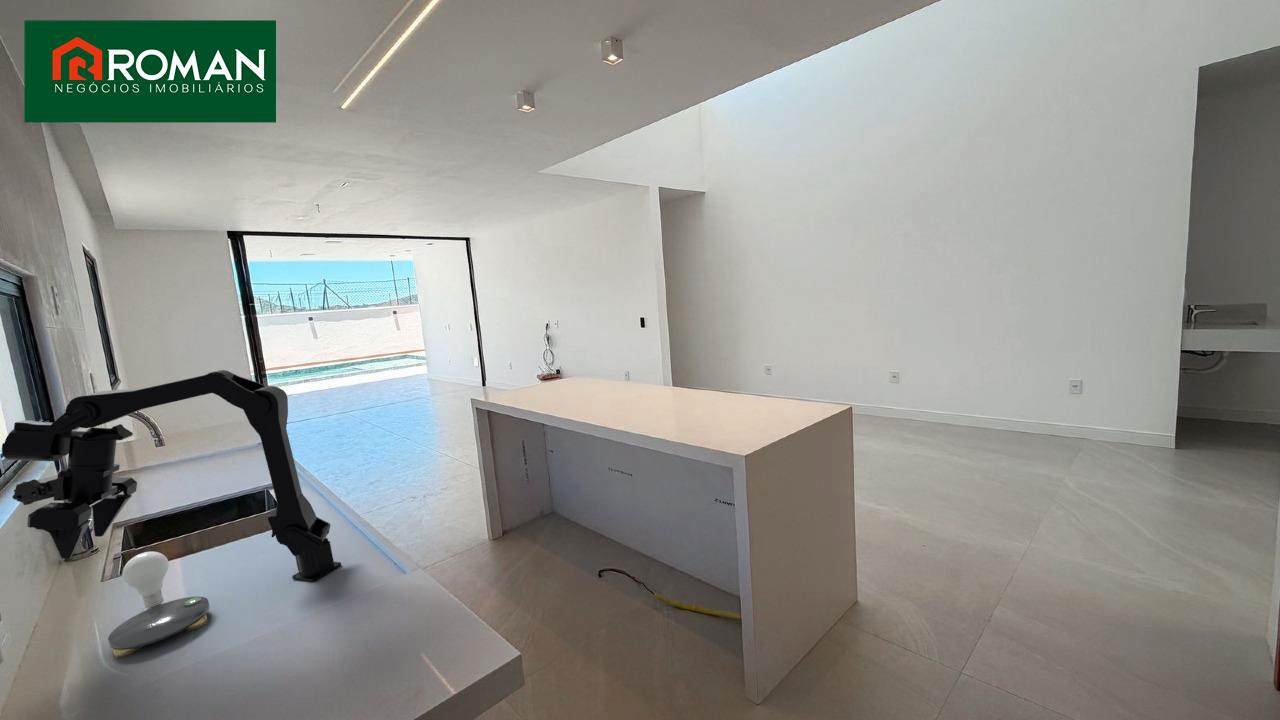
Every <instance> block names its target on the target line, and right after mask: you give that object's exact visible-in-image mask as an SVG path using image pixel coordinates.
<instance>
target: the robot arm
mask: <svg viewBox="0 0 1280 720" xmlns="http://www.w3.org/2000/svg"><path fill="white" fill-rule="evenodd" d="M209 394H213V395H216V396H218V397H220V398H221V399H223V400H224V401H226V402H227V403H229V404H230V405H233V406H234V407H237V408H239V409H241V410H243V412H244V415H245V417H246V418H247V420H248V423H249V424H250V426H251V427H252V429H253V430H254V431H255V432H256V433H257V435H258V436H259V437H260V440H261V442H260V443H261V445H262V449H263V453H264V457H265V462H266V465H267V468H268V473H269V477H270V481H271V485H272V489H273V493H274V497H275V500H276V501H275V502H276V507H275V508H274V510H273V511H271V513H270V515H269V516H268V517H267V521H268V523H269V525H270V527H271V538H274V537H275V539H276V541H277V542H278V544H280V545H283V546H285V547H287V548H288V550H289V551H290V553H291V554H292V556H294V557H295V561H296V567H297V571H298V572H297V573H295V574H293V575H291V577H292V578H291V579H294V580H300V581H308V582H316V581H318V580H319V579H321V578H323V577H324V576H326V575H327V574H330V573H331V572H333V571H334V570H335V569H337V568H340V567H341V566H342V562H339V561H334V557H333V552H332V551H333V550H332V546H331V545H332V544H331V541H330V540H329V538H328V537H327V536H328V534H329V533H330V529H331V523H330V522H328V521H326V520H324V519H322V518H320V517H317V515H316V512H315V511H314V508H313V507H312V504H311V503H310V501H309V500H308V499H307V498H306V496H305V495H304V494H303V492H302V491H303V490H302V488H301V487H302V486H301V484H300V479H299V476H298V472H297V467H296V462H295V459H294V455H293V451H292V447H291V444H290V438H289V435H288V432H287V431H288V430H287V425H288V417H289V416H288V415H289V403H288V398H289V397H288V394H287V393H286V392H285V390H284V389H281V388H280V387H278V386H275V385H265V384H262V383H260V382H258V381H255V380H251V379H249V378H245V377H242V376H239V375H237V374H235V373H232V372H230V371H229V370H225V369H219V370H216V371H211V372H208V373H207V374H202V375H198V376H193V377H189V378H184V379H181V380H180V379H179V380H175V381H170V382H165V383H162V384H157V385H151V386H148V387H142V388H133V389H131V388H129V389H128V388H126V389H124V388H123V389H113V390H112V389H110V390H101V391H97V392H94V393H93V392H91V393H88V394H84V395H80V396H76V397H74V398H73V399H71V400H69V401H68V404H67V405H66V407H65V410H64V411H65V412H64V413H63V414H62V415H60V416H59V417H58V418H57V419H56V420H55V421H53V422H46V421H45V422H44V421H36V420H31V419H30V420H28V419H26V420H25V419H24V420H19V421H16V422H14V424H13V425H14V426H13V429H12V430H11V431H10V432H8V434H7V436H6V438H5V440H4V442H3V443H2V445H1V454H2V456H3V458H5V460H8V461H25V462H26V461H28V462H29V461H31V462H57V461H59V460H60V459H61V458H62V457H65V456H67V455H68V457H67V459H68V460H67V467H66V468H64V469H62V470H60V471H59V472H58V473H57V475H54V476H49V477H45V478H41V479H35V478H33V479H31V480H29V481H21V482H20V483H17V484H16V485H15V489H13V492H14V494H13V495H12V499H13V500H16V502H19V503H22V504H23V505H22V506H28V505H32V504H33V503H35V502H38V501H43V500H47V499H51V498H53V501H54V502H49V503H48V504H45V505H43V506H41V507H39V508H38V509H36V510H34V511H33V512H31V513H30V514H28V515H27V516H28V517H27V525H26V526H27V527H28V528H30V529H31V528H34V529H36V530H39V531H40V530H41V531H42V530H43V531H45V532H47V533H48V534H49V535H50V536H51V538H52V540H53V543H54V545H55V547H56V549H57V551H58V554H59V556H60V558H61V559H63V560H64V559H66V560H67V559H70V558H72V556H73V555H74V553H75V551H76V549H77V548H78V546H79V544H80V542H81V540H82V538H83V536H84V535H85V532H86V530H87V529H88V527H89V525H90V523H91V521H93V533H94V537H100V538H101V537H103V536H105V534H106V533H107V531H108V529H109V528H110V527H111V526H112V524H113V523H114V521H115V519H116V518H117V517H118V515H119V514H120V513H121V511H122V509H124V506H125V505H127V503H128V502H129V500H130V499H131V498H132V497H133V495H132V494H134V493H135V492H137V486H138V482H137V481H136V480H135V479H134V478H132V477H121V476H119V477H117V476H116V477H114V473H116V472H117V471H119V470H120V464H118V463H116V464H115V461H116V460H115V457H116V450H117V441H123V440H125V439H127V438H129V437H132V436H133V435H134V434H133V432H132V431H130V430H129V429H127V428H126V427H125V426H124V425H123V424H121V423H120V424H119V423H118V424H117V425H114V426H112V427H111V428H110V427H109V428H108V427H100V426H101V425H104V424H107V423H111V422H112V421H117V420H118V419H121V418H124V417H126V416H129V415H132V414H134V413H137V412H139V411H142V410H145V409H149V408H152V407H157V406H161V405H167V404H170V403H175V402H178V401H183V400H184V401H185V400H187V399H192V398H196V397H200V396H205V395H209ZM98 426H99V427H98ZM80 428H81V429H87V430H86V431H83V430H82V431H78V430H77V429H80ZM55 501H57V502H55ZM61 501H62V502H61ZM63 501H67V502H63ZM91 515H92V520H91V519H90V517H91Z"/></svg>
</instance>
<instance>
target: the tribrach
mask: <svg viewBox="0 0 1280 720" xmlns="http://www.w3.org/2000/svg"><path fill="white" fill-rule="evenodd" d="M209 609H210V602H209V599H208V598H207V597H204V596H189V597H188V596H187V597H182V598H177V599H175V600H170V601H168V602H163V603H161V604H160V605H158V606H156V607H153V608H147V609H146V610H144V611H142V612H140V613H138V614H136V615H134V616H132V617H130V618H128V619H127V620H125V621H123V622H122V623H121V624H119V625H118V626H116V628H114V629H113V630H112V632H110V633H109V635H108V639H107V640H108V644H109V647H110V648H111V649H112V651H113V655H114V658H115V659H121V658H122V659H123V658H126V657H128V656H131V655H132V654H134V653H137V651H139V650H141V648H142V647H145V646H148V645H151V644H152V645H153V644H155V643H158V642H160V641H162V640H165V639H167V638H170V637H172V636H174V635H176V634H179V633H181V632H183V631H184V632H187V633H188V632H193V631H196V630H198V629H200V628H202V627H204V626H206V624H208V623H209V622H208V617H207V613H208V611H209Z"/></svg>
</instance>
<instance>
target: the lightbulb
mask: <svg viewBox="0 0 1280 720" xmlns="http://www.w3.org/2000/svg"><path fill="white" fill-rule="evenodd" d="M169 567H170V566H169V560H168V558H167V556H165V554H163V553H161V552H158V551H144V552H141V553H139V554H137V555H134V556H133V557H132V558H131V559H129V560H128V561H127V562H126V563H125V565H124V567H123V569H122V574H121V575H122V579H123V581H124V582H125V583H126V584H127V585H128V586H130V587H131V588H134V589H135V590H137V593H138V594H139V595H140V596H141V597H142V600H143V605H144V608H145V609H151V608H153V607H156V606H158V605H161V604H163V603H164V600H165V599H164V597H163V592H162V588H163V583H164V582H163V581H164V578H165V576H166V574H167V572H168V570H169Z"/></svg>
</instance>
